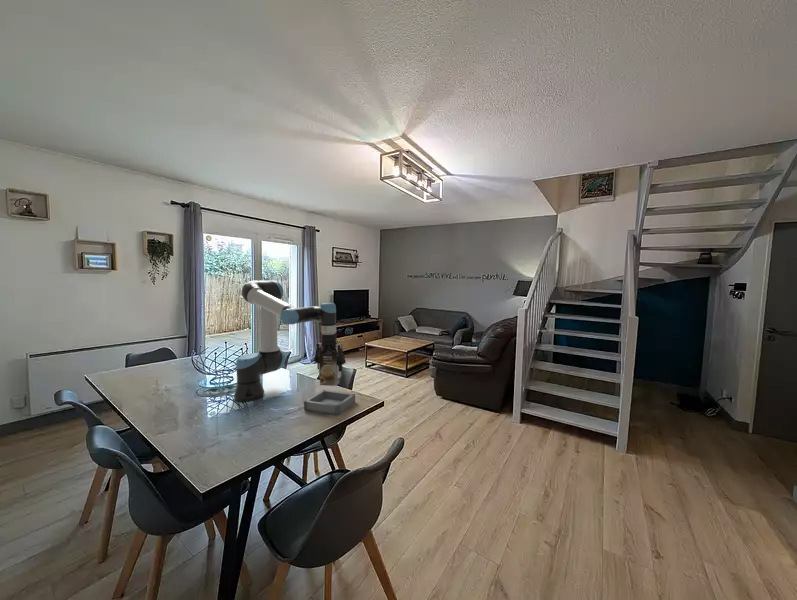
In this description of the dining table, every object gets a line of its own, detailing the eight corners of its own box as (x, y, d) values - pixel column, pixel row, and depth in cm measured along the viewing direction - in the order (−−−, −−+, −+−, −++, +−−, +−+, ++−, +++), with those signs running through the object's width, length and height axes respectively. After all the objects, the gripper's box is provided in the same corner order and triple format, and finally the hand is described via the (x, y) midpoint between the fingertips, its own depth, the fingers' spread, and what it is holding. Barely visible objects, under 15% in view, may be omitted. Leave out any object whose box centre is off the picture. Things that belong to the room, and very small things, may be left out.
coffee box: (319, 385, 153) (318, 354, 152) (323, 381, 159) (322, 351, 158) (336, 386, 152) (336, 354, 151) (340, 381, 158) (339, 351, 157)
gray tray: (304, 410, 152) (303, 401, 152) (323, 397, 168) (323, 389, 168) (338, 416, 145) (338, 406, 145) (355, 402, 161) (355, 394, 161)
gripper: (305, 333, 154) (306, 376, 156) (344, 335, 146) (345, 381, 148) (314, 331, 161) (315, 372, 163) (352, 333, 154) (353, 376, 155)
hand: (329, 376), depth 155 cm, fingers closed on coffee box, 10 cm apart
